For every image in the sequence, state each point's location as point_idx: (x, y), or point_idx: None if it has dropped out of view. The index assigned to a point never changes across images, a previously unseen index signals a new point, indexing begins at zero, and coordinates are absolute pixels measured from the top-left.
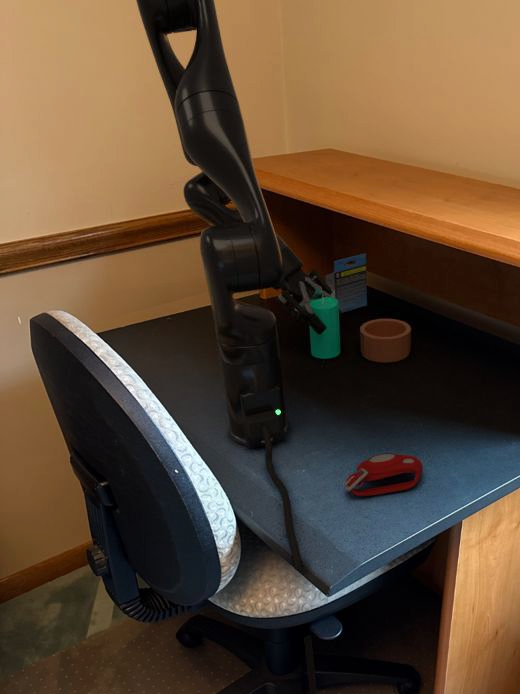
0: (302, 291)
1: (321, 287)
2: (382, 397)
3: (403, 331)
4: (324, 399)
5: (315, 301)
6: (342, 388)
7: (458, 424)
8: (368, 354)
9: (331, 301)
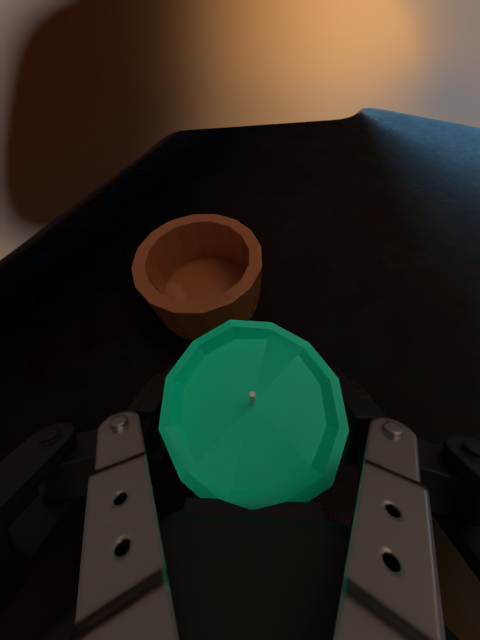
0: (431, 597)
1: (95, 474)
2: (382, 246)
3: (172, 244)
4: (462, 328)
5: (215, 479)
6: (397, 313)
7: (386, 164)
8: (256, 303)
9: (192, 378)
